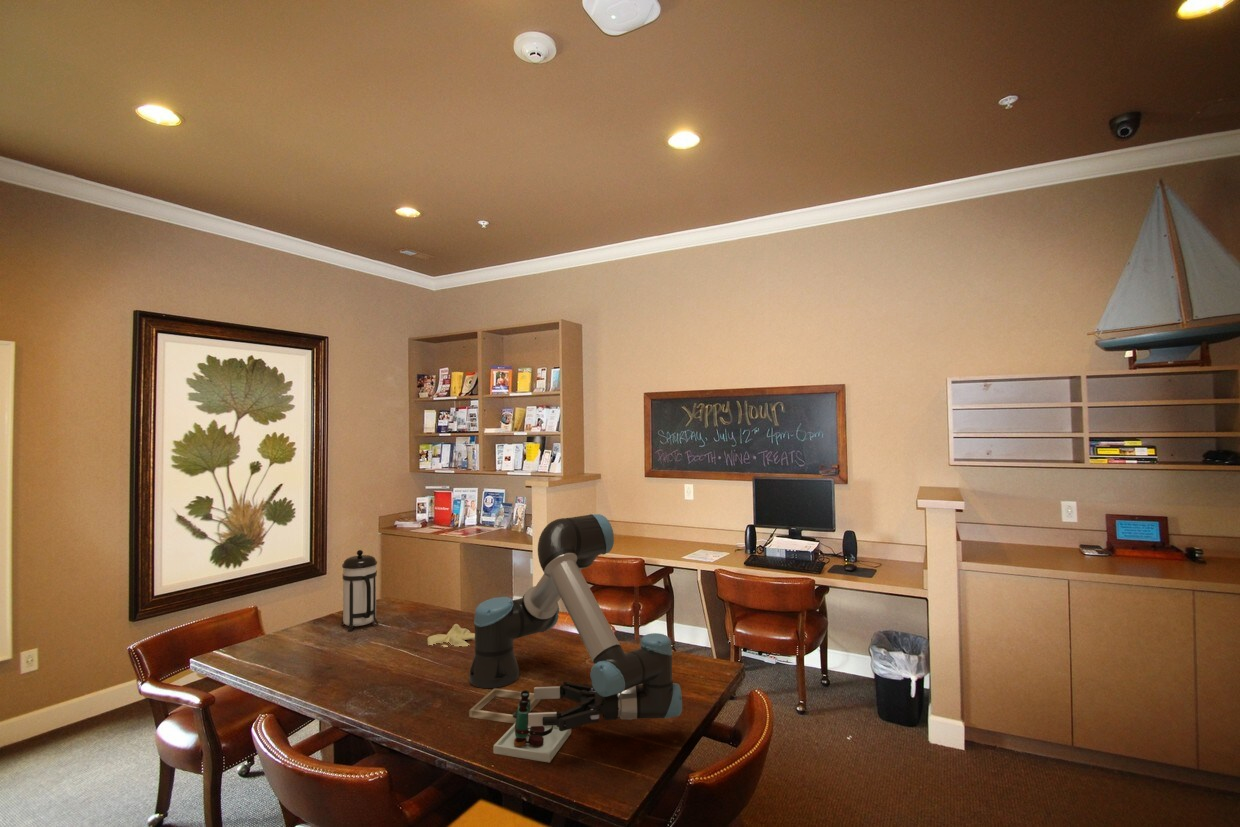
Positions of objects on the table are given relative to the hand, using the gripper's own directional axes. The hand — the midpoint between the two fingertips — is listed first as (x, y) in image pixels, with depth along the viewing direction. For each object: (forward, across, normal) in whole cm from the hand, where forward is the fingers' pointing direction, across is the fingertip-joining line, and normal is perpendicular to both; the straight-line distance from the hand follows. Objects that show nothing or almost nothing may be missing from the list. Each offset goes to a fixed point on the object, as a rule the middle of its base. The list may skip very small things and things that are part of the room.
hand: (531, 705), depth 139 cm
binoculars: (0, +1, -8) cm, 9 cm away
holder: (+9, +19, -9) cm, 23 cm away
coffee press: (+77, +93, -9) cm, 121 cm away
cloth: (+35, +73, -10) cm, 82 cm away
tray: (0, 0, -9) cm, 9 cm away
